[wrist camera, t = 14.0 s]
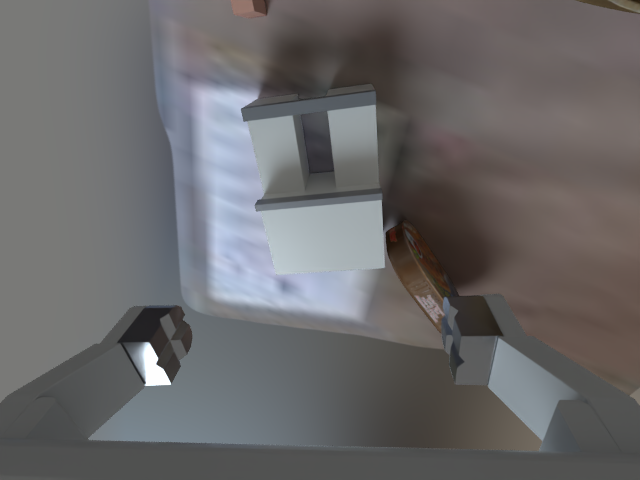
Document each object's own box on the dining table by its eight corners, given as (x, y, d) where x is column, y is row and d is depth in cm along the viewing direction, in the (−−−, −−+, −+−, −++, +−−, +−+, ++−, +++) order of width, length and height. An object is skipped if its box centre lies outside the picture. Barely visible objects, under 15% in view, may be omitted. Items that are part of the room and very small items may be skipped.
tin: (461, 295, 43) (484, 346, 36) (438, 305, 44) (456, 357, 37) (401, 206, 37) (413, 245, 30) (376, 221, 38) (383, 262, 31)
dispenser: (371, 83, 31) (377, 95, 24) (379, 233, 39) (385, 275, 32) (257, 99, 33) (232, 114, 26) (286, 240, 41) (273, 282, 34)
